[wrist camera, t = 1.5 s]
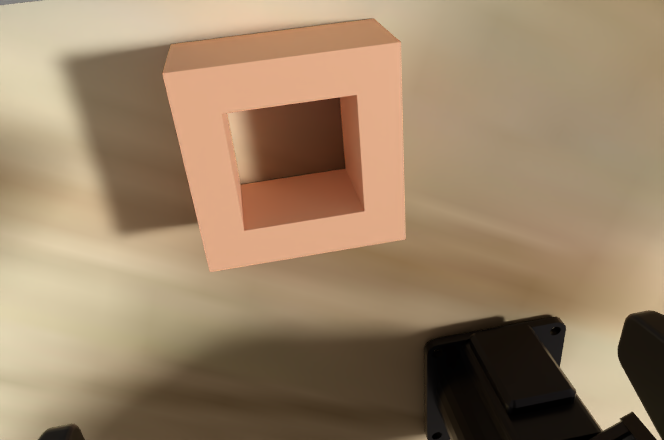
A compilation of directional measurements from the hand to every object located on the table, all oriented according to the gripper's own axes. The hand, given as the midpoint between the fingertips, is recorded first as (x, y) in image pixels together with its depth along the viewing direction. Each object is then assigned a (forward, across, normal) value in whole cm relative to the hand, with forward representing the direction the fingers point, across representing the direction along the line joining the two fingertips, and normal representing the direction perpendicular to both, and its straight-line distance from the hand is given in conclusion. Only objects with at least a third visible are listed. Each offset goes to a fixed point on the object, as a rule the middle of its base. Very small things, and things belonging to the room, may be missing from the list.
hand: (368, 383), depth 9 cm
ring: (+12, 0, 0) cm, 12 cm away
